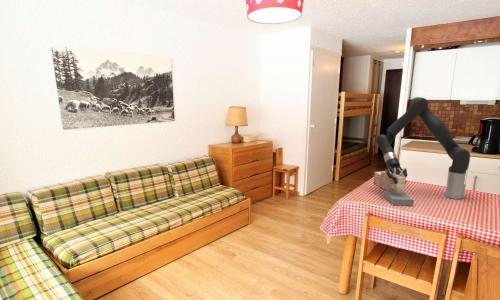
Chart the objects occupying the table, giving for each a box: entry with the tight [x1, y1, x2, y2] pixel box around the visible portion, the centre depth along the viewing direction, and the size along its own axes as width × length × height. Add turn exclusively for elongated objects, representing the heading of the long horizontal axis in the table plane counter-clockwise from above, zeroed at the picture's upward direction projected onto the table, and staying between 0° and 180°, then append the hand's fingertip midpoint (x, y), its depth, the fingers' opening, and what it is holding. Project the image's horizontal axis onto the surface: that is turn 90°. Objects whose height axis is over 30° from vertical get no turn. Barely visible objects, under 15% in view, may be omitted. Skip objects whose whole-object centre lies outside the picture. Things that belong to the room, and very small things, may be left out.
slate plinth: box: [382, 190, 415, 207], centre depth 176 cm, size 12×16×4 cm
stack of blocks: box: [373, 170, 398, 191], centre depth 204 cm, size 21×6×12 cm, turn 5°
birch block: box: [392, 176, 407, 191], centre depth 174 cm, size 5×5×8 cm
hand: (400, 183), depth 172 cm, fingers closed on birch block, 5 cm apart
